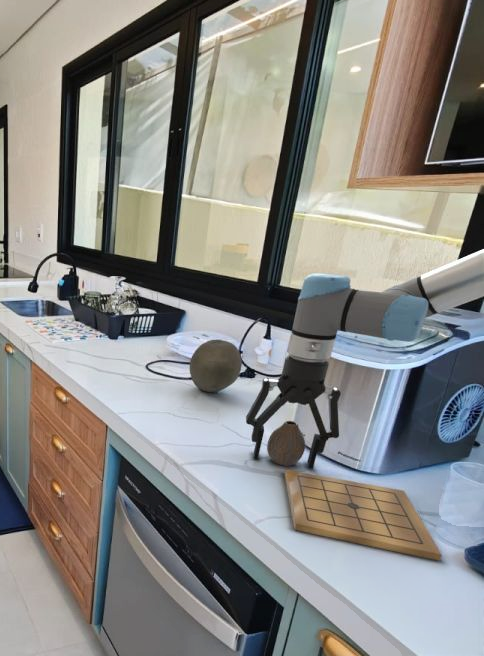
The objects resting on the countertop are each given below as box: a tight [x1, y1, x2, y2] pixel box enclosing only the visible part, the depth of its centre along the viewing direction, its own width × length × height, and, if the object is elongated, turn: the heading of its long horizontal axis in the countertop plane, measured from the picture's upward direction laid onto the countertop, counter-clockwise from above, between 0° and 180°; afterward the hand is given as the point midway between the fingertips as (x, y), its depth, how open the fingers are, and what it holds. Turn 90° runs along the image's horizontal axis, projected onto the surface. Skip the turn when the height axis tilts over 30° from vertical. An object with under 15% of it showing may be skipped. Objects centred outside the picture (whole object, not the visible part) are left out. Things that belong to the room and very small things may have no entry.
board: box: [284, 469, 443, 562], centre depth 88 cm, size 20×20×1 cm
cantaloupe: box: [189, 339, 243, 393], centre depth 141 cm, size 14×14×15 cm
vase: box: [266, 420, 306, 467], centre depth 103 cm, size 7×7×9 cm
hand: (282, 460), depth 105 cm, fingers open, 10 cm apart
